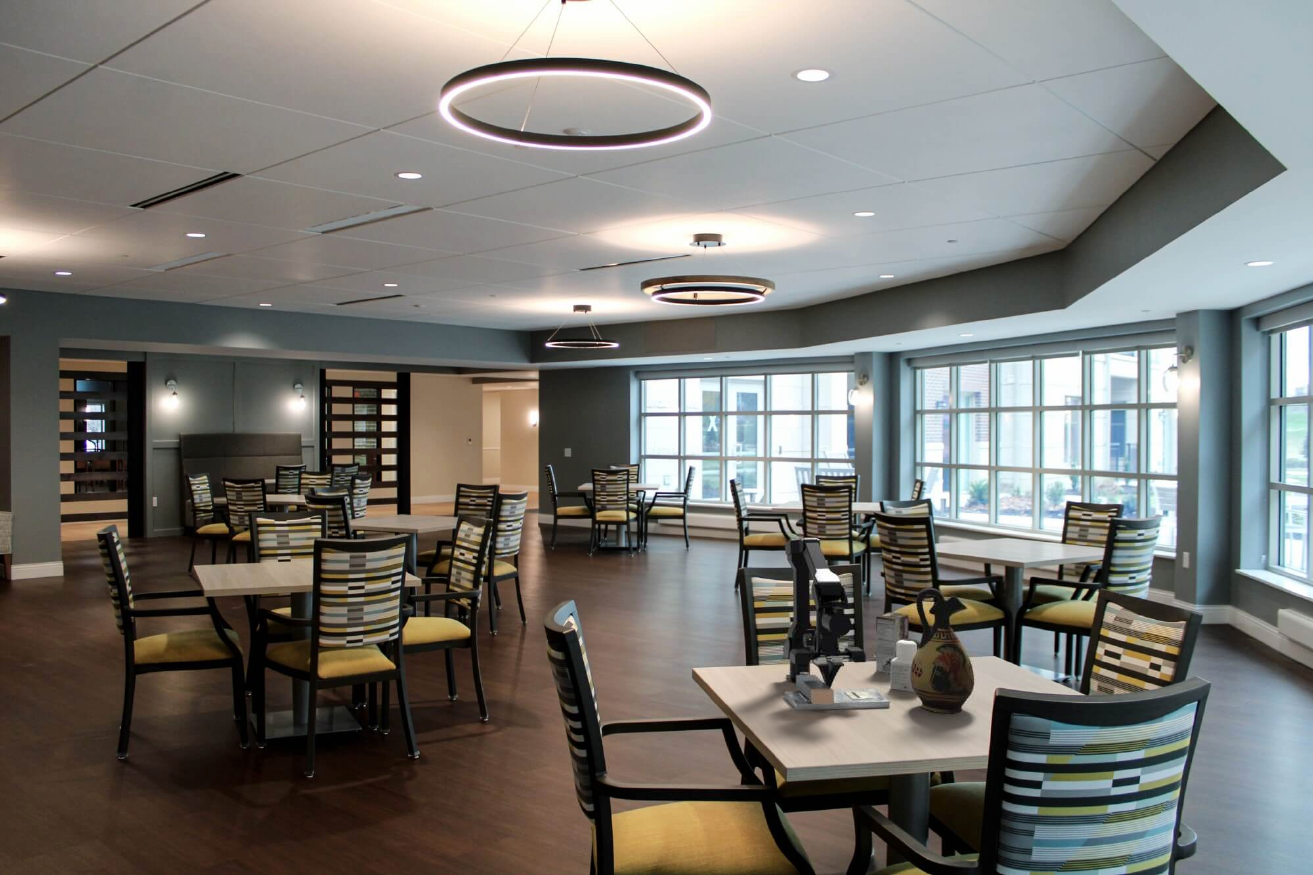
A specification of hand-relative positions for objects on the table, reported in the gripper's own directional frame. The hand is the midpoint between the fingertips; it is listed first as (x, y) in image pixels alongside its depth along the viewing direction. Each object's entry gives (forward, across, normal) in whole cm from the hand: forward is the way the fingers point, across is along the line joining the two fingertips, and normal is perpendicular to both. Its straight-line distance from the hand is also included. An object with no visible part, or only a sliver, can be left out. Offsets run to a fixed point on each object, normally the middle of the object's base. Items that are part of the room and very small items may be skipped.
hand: (827, 689), depth 245 cm
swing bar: (+3, +4, -1) cm, 5 cm away
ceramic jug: (+4, -26, +8) cm, 28 cm away
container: (+4, -27, -12) cm, 30 cm away
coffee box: (+4, -30, -32) cm, 44 cm away
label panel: (+4, -2, -1) cm, 4 cm away
